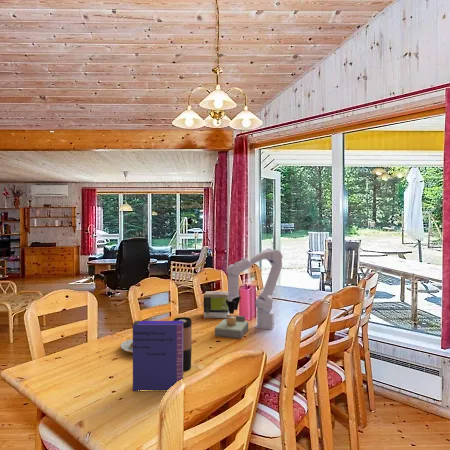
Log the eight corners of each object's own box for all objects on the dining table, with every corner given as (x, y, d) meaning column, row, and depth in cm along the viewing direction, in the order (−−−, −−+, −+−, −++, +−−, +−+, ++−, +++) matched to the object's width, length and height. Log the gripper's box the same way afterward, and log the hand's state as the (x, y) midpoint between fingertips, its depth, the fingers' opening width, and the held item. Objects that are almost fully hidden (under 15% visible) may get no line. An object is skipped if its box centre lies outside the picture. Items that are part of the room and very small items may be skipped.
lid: (248, 322, 196) (248, 316, 196) (241, 331, 181) (241, 325, 181) (224, 320, 201) (224, 314, 200) (214, 329, 185) (214, 322, 185)
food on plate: (110, 349, 167) (110, 335, 167) (154, 336, 186) (154, 323, 185) (141, 364, 150) (141, 349, 150) (186, 348, 168) (186, 335, 168)
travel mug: (182, 362, 152) (182, 315, 151) (195, 367, 147) (195, 319, 146) (168, 368, 146) (168, 320, 145) (181, 373, 141) (182, 323, 140)
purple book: (183, 384, 132) (183, 320, 132) (182, 390, 127) (182, 324, 127) (135, 384, 132) (135, 320, 131) (132, 391, 127) (132, 324, 126)
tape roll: (237, 324, 191) (237, 316, 191) (234, 326, 187) (234, 319, 187) (228, 322, 193) (228, 315, 193) (225, 325, 188) (225, 318, 188)
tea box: (229, 314, 226) (229, 291, 226) (227, 318, 216) (227, 294, 216) (205, 313, 228) (205, 290, 227) (203, 318, 218) (203, 293, 217)
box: (248, 329, 196) (248, 322, 196) (240, 338, 181) (241, 332, 181) (224, 326, 201) (224, 320, 201) (214, 335, 185) (214, 329, 185)
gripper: (230, 283, 202) (230, 307, 202) (222, 288, 188) (222, 314, 188) (242, 284, 200) (242, 308, 200) (235, 289, 186) (235, 315, 186)
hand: (233, 311), depth 194 cm, fingers open, 7 cm apart
